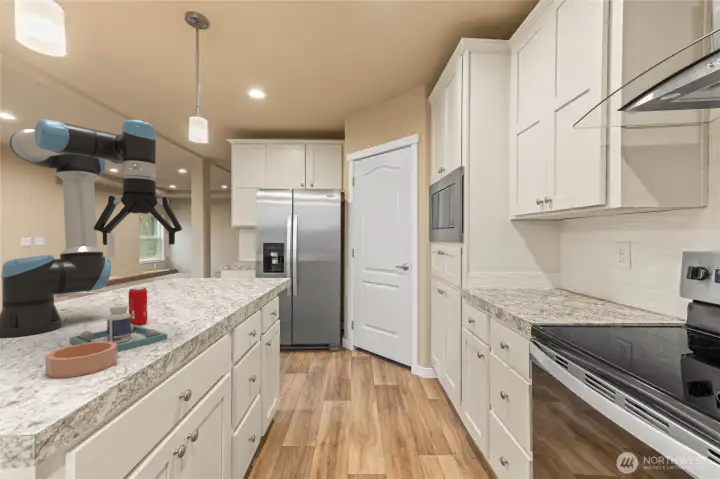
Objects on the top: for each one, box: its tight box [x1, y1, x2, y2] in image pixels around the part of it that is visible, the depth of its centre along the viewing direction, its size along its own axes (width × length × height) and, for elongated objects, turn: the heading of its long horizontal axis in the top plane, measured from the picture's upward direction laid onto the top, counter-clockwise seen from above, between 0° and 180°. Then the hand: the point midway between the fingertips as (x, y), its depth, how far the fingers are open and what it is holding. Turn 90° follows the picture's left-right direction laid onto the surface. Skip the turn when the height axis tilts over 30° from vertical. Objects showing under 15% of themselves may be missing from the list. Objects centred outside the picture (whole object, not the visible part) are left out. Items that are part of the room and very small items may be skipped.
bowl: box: [45, 341, 118, 379], centre depth 76 cm, size 12×12×4 cm
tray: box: [69, 325, 168, 352], centre depth 95 cm, size 20×16×2 cm
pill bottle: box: [106, 304, 132, 344], centre depth 95 cm, size 5×5×10 cm
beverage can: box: [128, 287, 148, 326], centre depth 113 cm, size 5×5×12 cm
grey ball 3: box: [144, 328, 158, 338], centre depth 95 cm, size 3×3×3 cm
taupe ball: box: [79, 330, 94, 343], centre depth 94 cm, size 3×3×3 cm
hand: (140, 257), depth 92 cm, fingers open, 13 cm apart
